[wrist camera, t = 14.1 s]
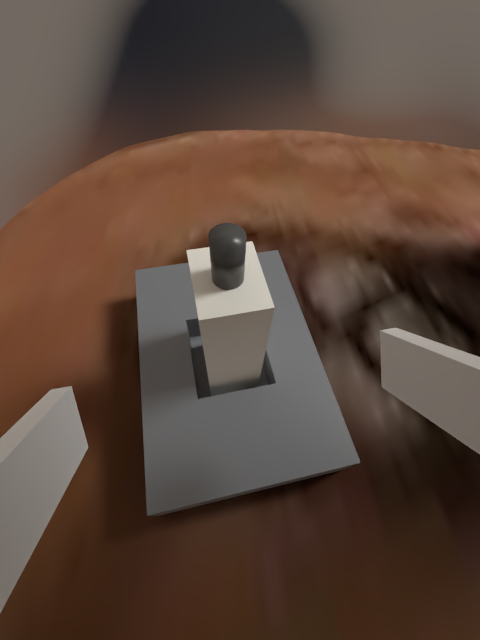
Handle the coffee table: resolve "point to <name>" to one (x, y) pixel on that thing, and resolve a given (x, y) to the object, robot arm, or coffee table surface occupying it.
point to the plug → (231, 308)
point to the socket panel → (230, 401)
